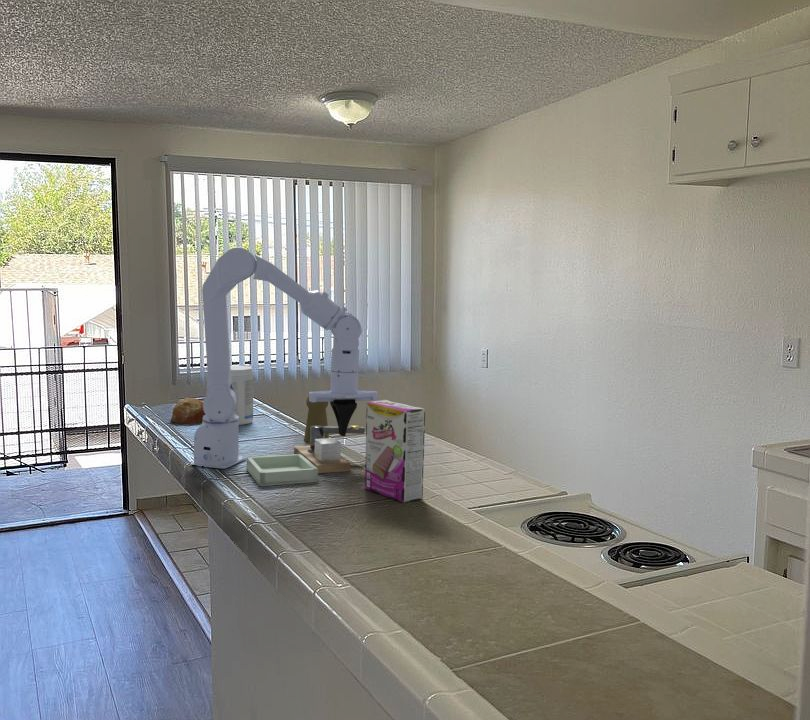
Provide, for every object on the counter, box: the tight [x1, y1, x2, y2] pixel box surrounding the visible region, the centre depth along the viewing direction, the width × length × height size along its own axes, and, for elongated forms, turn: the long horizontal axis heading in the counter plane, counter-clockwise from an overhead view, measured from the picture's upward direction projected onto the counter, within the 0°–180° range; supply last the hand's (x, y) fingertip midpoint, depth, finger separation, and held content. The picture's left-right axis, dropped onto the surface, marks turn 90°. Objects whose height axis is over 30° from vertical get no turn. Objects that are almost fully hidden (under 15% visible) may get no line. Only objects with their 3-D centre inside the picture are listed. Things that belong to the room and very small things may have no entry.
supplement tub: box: [230, 365, 254, 426], centre depth 199 cm, size 10×10×15 cm
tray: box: [246, 453, 319, 487], centre depth 147 cm, size 13×11×2 cm
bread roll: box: [170, 397, 206, 425], centre depth 201 cm, size 10×10×8 cm
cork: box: [303, 395, 330, 443], centre depth 180 cm, size 6×6×11 cm
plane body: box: [293, 445, 352, 474], centre depth 159 cm, size 18×7×2 cm, turn 23°
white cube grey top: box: [314, 437, 342, 463], centre depth 155 cm, size 5×4×4 cm
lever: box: [309, 424, 366, 450], centre depth 162 cm, size 12×3×5 cm, turn 96°
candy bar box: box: [364, 399, 426, 504], centre depth 136 cm, size 11×5×16 cm, turn 41°
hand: (342, 435), depth 160 cm, fingers closed, pressing on lever
